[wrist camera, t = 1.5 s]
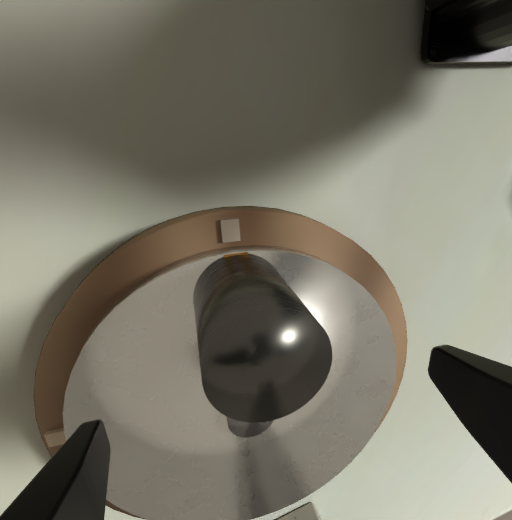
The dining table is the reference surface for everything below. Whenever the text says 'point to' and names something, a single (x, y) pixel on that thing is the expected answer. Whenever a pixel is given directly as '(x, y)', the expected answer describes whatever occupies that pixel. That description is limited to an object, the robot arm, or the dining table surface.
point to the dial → (233, 383)
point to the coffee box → (303, 513)
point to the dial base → (180, 247)
